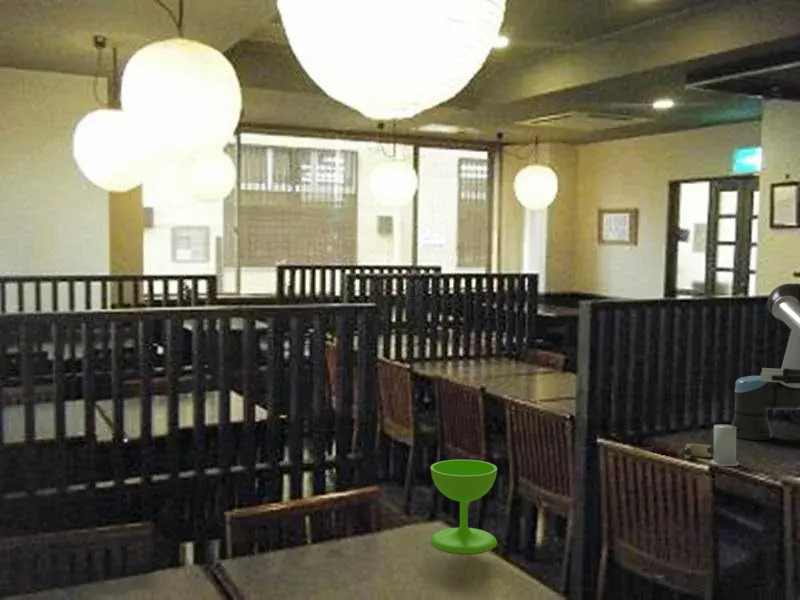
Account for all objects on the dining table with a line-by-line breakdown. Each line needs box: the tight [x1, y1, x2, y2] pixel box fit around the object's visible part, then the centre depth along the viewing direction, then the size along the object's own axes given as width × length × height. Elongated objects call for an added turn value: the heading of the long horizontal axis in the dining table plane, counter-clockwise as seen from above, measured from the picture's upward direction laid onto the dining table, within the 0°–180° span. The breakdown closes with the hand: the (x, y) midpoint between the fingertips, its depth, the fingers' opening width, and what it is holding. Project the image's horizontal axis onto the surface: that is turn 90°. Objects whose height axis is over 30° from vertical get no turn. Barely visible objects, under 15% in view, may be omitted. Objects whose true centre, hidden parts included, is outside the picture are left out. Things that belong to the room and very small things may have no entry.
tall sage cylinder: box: [712, 424, 737, 464], centre depth 263 cm, size 7×7×12 cm
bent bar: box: [682, 442, 714, 460], centre depth 272 cm, size 9×10×4 cm
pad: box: [709, 459, 740, 467], centre depth 263 cm, size 9×9×1 cm
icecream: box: [639, 443, 678, 459], centre depth 263 cm, size 7×7×15 cm
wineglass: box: [430, 459, 498, 555], centre depth 188 cm, size 16×16×18 cm
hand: (761, 374), depth 263 cm, fingers open, 13 cm apart
